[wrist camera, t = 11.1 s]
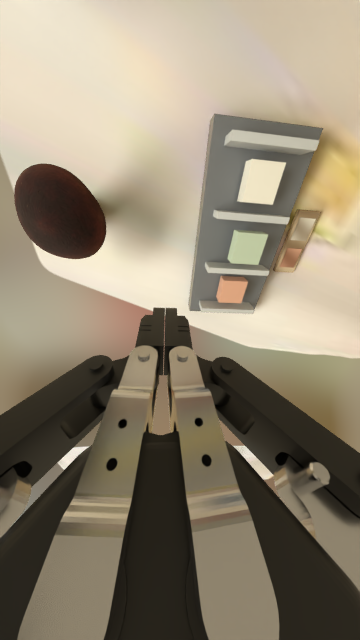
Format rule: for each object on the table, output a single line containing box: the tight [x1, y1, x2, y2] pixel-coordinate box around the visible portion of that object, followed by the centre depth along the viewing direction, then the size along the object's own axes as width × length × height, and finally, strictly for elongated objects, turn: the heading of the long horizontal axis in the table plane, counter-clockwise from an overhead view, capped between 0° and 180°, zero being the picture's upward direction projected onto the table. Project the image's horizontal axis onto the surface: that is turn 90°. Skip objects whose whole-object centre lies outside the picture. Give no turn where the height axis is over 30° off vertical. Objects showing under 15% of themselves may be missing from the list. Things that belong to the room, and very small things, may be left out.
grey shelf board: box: [188, 114, 323, 314], centre depth 34 cm, size 32×16×6 cm, turn 176°
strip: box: [274, 210, 321, 273], centre depth 37 cm, size 12×4×1 cm, turn 176°
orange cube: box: [216, 276, 248, 303], centre depth 39 cm, size 5×5×5 cm
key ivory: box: [237, 159, 286, 205], centre depth 28 cm, size 5×5×5 cm
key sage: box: [228, 230, 268, 265], centre depth 32 cm, size 5×5×5 cm
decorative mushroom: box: [14, 164, 106, 259], centre depth 26 cm, size 11×11×15 cm
